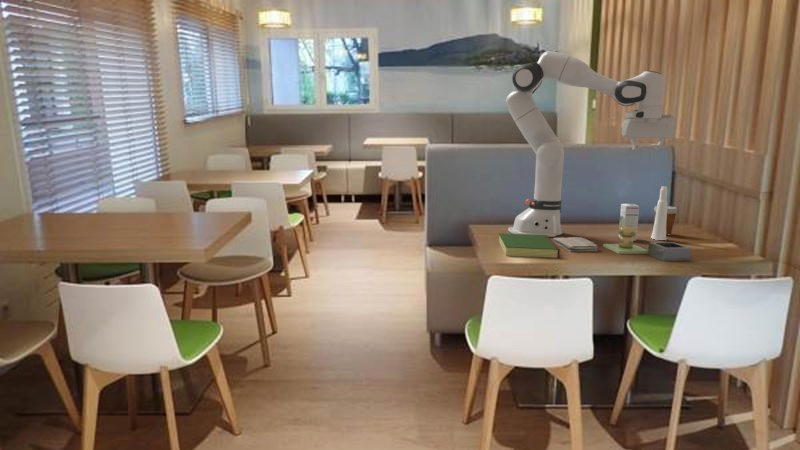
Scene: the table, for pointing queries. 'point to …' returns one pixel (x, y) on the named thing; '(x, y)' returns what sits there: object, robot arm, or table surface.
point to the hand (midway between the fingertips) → (646, 149)
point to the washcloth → (576, 244)
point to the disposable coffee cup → (669, 218)
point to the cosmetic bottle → (661, 216)
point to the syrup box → (629, 216)
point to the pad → (625, 251)
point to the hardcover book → (528, 245)
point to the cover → (626, 236)
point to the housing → (669, 251)
